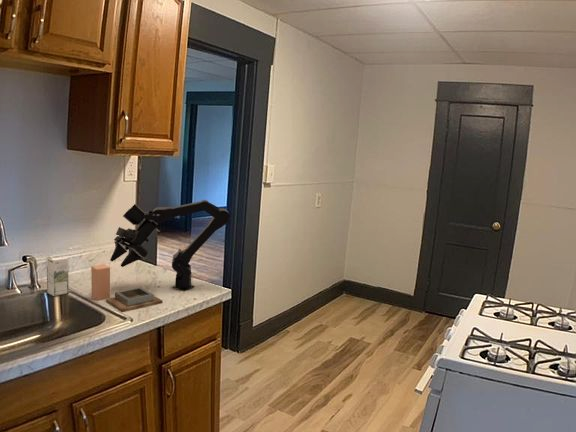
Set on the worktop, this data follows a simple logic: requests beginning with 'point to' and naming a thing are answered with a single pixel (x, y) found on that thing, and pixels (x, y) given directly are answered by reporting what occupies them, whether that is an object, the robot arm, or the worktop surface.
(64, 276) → the syrup box
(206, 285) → the worktop surface
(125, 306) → the collar board
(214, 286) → the worktop surface
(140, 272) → the worktop surface
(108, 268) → the terracotta block
